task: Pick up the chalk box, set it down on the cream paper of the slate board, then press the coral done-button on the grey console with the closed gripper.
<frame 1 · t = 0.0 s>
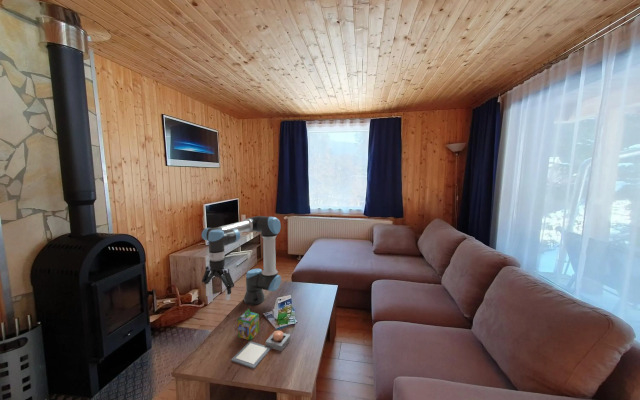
hand: (218, 297, 131), 28 cm above the table, fingers open, 13 cm apart
done button: (278, 335, 136), point 4 cm above the table, slide at 0.0 cm
chalk box: (248, 334, 143), on the table
button console: (278, 343, 136), on the table
slate: (252, 354, 127), on the table
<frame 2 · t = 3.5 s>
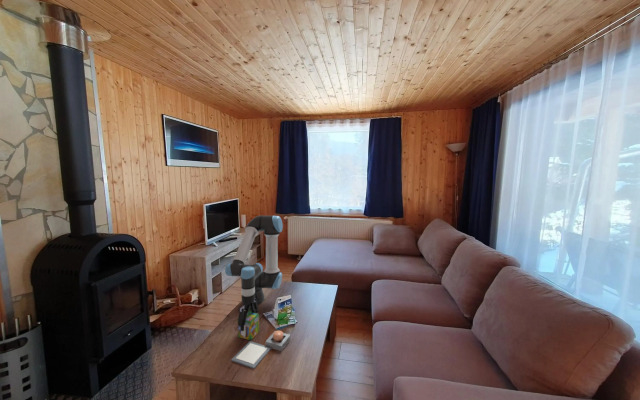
hand: (248, 330, 143), 3 cm above the table, fingers closed on chalk box, 9 cm apart
chalk box: (249, 334, 143), on the table, touching gripper
everything else where it was.
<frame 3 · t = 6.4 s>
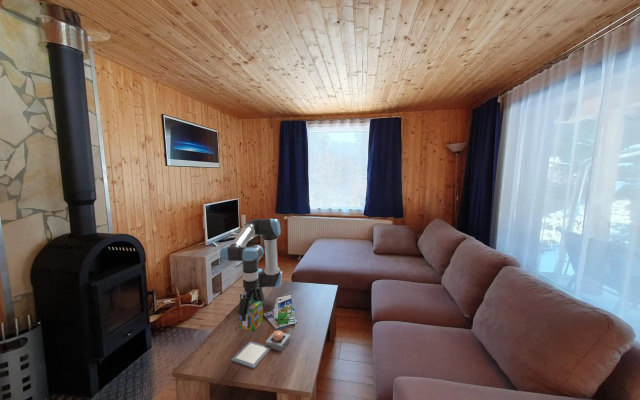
hand: (251, 320, 125), 19 cm above the table, fingers closed on chalk box, 9 cm apart
chalk box: (251, 325, 125), point 16 cm above the table, touching gripper
everything else where it was.
when the fingers open (5 cm above the table, at t = 9.7 s): chalk box drops 1 cm, resting on slate.
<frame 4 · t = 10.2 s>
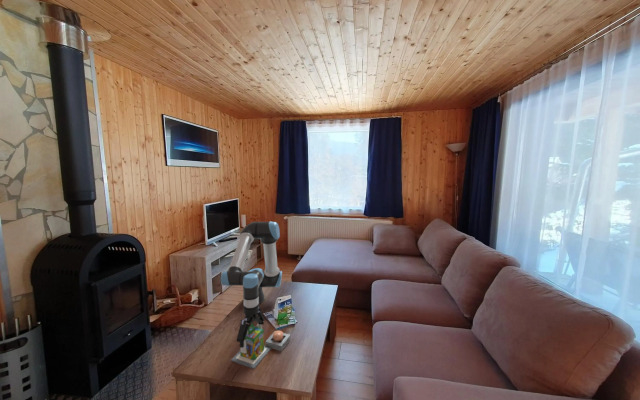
hand: (251, 343, 126), 6 cm above the table, fingers open, 13 cm apart
chalk box: (252, 352, 127), point 1 cm above the table, touching slate
everything else where it was.
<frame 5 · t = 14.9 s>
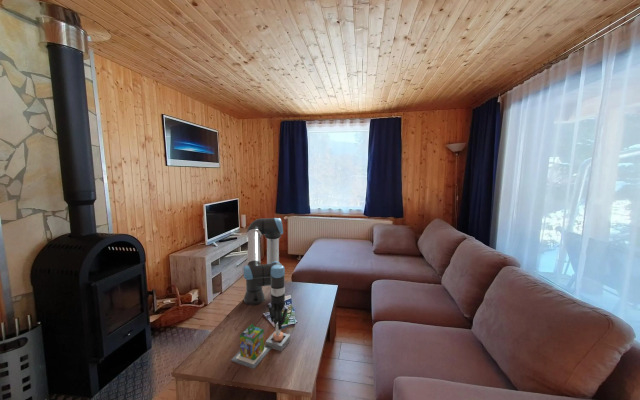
hand: (278, 334, 135), 5 cm above the table, fingers closed
done button: (278, 336, 136), point 4 cm above the table, slide at 0.4 cm, touching gripper
everything else where it was.
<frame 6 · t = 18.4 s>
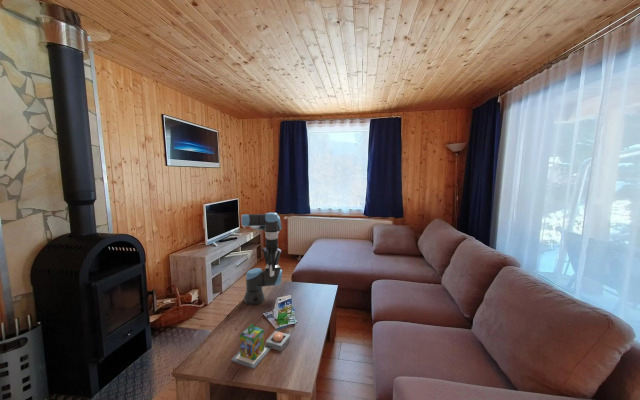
hand: (272, 275, 150), 32 cm above the table, fingers closed
done button: (278, 337, 136), point 3 cm above the table, slide at 1.0 cm
everything else where it was.
at the end: chalk box inside the target area on the slate (0.4 cm from its centre), point 0.8 cm above the slate's base; chalk box tilted 0°; done button slide at 1.0 cm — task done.
